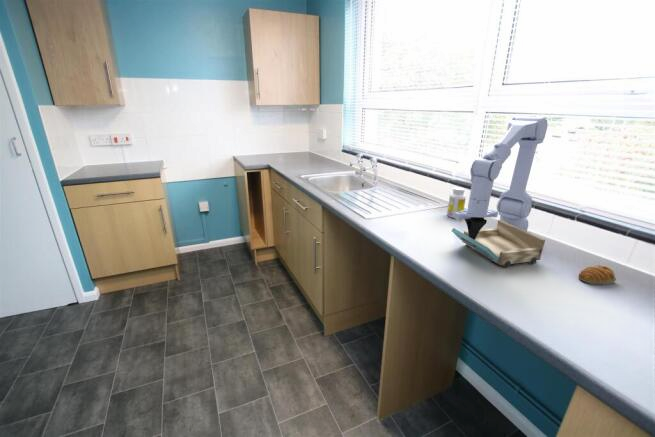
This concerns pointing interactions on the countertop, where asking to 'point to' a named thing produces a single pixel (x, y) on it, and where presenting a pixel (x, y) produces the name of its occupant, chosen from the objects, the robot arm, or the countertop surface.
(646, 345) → the countertop surface
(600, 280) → the pastry
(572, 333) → the countertop surface
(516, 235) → the tray
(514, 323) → the countertop surface
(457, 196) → the supplement bottle
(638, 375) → the countertop surface
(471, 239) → the panel
